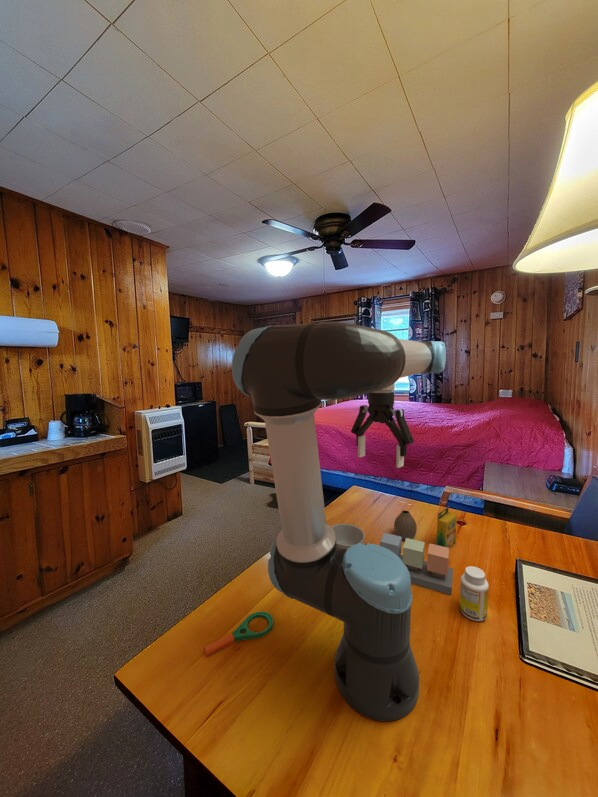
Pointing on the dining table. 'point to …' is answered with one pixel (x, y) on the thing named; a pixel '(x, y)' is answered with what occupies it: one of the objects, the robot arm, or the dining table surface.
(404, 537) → the vase
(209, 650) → the magnifying glass
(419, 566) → the button sage
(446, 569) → the button terracotta
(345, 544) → the teacup
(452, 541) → the crayon box
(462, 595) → the supplement bottle
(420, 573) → the button board
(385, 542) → the button slate
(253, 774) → the dining table surface
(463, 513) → the dining table surface
